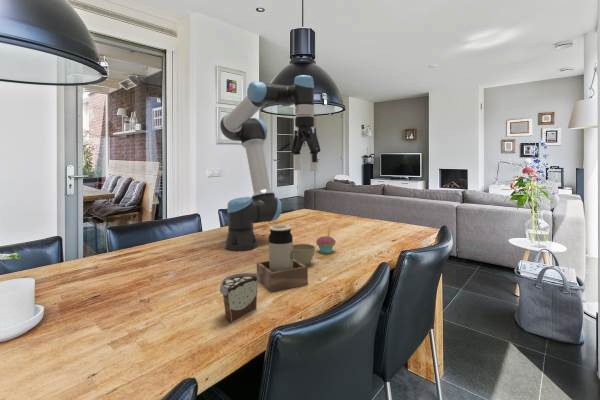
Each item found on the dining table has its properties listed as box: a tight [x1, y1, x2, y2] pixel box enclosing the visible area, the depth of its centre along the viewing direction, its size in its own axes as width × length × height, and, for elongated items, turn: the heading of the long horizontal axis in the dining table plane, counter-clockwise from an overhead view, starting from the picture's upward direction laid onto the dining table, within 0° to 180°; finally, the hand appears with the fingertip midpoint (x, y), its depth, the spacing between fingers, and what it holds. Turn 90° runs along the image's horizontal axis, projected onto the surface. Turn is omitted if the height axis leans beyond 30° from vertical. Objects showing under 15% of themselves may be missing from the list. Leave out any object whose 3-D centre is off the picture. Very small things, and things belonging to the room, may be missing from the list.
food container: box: [219, 272, 260, 324], centre depth 89 cm, size 12×6×10 cm, turn 145°
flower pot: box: [293, 243, 316, 267], centre depth 130 cm, size 10×10×7 cm
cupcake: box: [315, 226, 336, 254], centre depth 146 cm, size 9×8×12 cm
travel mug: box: [268, 224, 294, 272], centre depth 111 cm, size 8×8×18 cm
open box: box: [256, 259, 309, 293], centre depth 112 cm, size 13×13×6 cm
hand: (305, 170), depth 133 cm, fingers open, 13 cm apart
